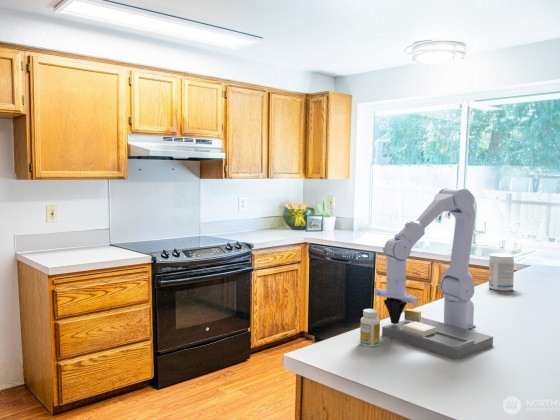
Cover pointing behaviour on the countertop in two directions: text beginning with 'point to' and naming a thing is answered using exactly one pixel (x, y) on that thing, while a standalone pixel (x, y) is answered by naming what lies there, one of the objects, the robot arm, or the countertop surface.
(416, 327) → the cover
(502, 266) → the supplement tub
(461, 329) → the grey slotted tray
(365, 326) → the supplement bottle
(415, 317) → the gold metal block
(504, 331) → the countertop surface
